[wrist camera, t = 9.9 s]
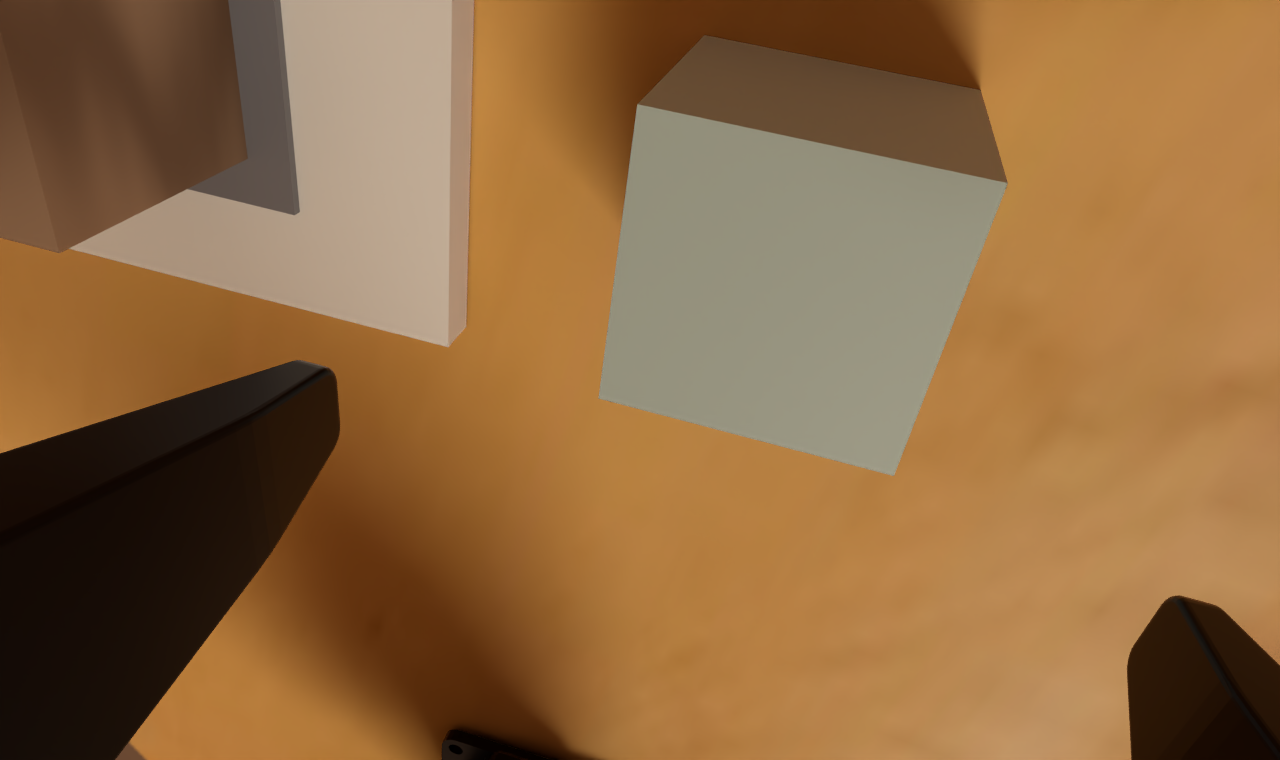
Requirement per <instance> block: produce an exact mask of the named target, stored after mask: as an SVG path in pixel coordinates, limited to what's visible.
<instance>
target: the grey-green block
mask: <svg viewBox="0 0 1280 760" xmlns="http://www.w3.org/2000/svg"><path fill="white" fill-rule="evenodd" d="M1007 184H1008V182H1007V179H1006V176H1005V172H1004V169H1003V165H1002V162H1001V158H1000V155H999V151H998V148H997V145H996V141H995V138H994V134H993V131H992V127H991V124H990V121H989V117H988V114H987V110H986V107H985V103H984V100H983V97H982V93H981V90H978V89H973V88H968V87H963V86H958V85H953V84H948V83H943V82H938V81H933V80H928V79H923V78H918V77H913V76H908V75H903V74H898V73H893V72H888V71H883V70H878V69H873V68H868V67H863V66H858V65H853V64H848V63H843V62H838V61H833V60H828V59H823V58H818V57H813V56H808V55H803V54H797V53H792V52H787V51H782V50H777V49H772V48H767V47H762V46H757V45H752V44H747V43H742V42H737V41H732V40H727V39H722V38H717V37H712V36H707V35H704V36H703V37H702V38H701V39H700V40H699V41H698V42H697V43H696V44H695V45H694V46H693V47H692V48H691V50H690V51H689V52H688V53H687V54H686V55H685V56H684V57H683V58H682V59H681V60H680V61H679V62H678V63H677V64H676V65H675V66H674V67H673V68H672V69H671V70H670V71H669V72H668V73H667V74H666V75H665V76H664V77H663V78H662V79H661V80H660V81H659V82H658V83H657V84H656V85H655V86H654V87H653V89H652V90H651V91H650V92H649V93H648V94H647V95H646V96H645V97H644V98H643V99H642V100H641V101H640V102H639V103H638V104H637V110H636V118H635V125H634V133H633V140H632V148H631V156H630V163H629V171H628V179H627V186H626V194H625V201H624V209H623V217H622V224H621V232H620V240H619V247H618V255H617V262H616V270H615V278H614V285H613V293H612V300H611V308H610V316H609V323H608V331H607V339H606V346H605V354H604V361H603V369H602V377H601V384H600V392H599V399H603V400H607V401H610V402H614V403H618V404H622V405H626V406H629V407H633V408H637V409H641V410H645V411H649V412H652V413H656V414H660V415H664V416H668V417H671V418H675V419H679V420H683V421H687V422H690V423H694V424H698V425H702V426H706V427H709V428H713V429H717V430H721V431H725V432H729V433H732V434H736V435H740V436H744V437H748V438H751V439H755V440H759V441H763V442H767V443H770V444H774V445H778V446H782V447H786V448H789V449H793V450H797V451H801V452H805V453H809V454H812V455H816V456H820V457H824V458H828V459H831V460H835V461H839V462H843V463H847V464H850V465H854V466H858V467H862V468H866V469H869V470H873V471H877V472H881V473H885V474H889V475H892V476H894V474H895V471H896V469H897V466H898V464H899V461H900V459H901V456H902V453H903V451H904V448H905V446H906V443H907V441H908V438H909V435H910V433H911V430H912V428H913V425H914V423H915V420H916V417H917V415H918V412H919V410H920V407H921V405H922V402H923V399H924V397H925V394H926V392H927V389H928V387H929V384H930V382H931V379H932V376H933V374H934V371H935V369H936V366H937V364H938V361H939V358H940V356H941V353H942V351H943V348H944V346H945V343H946V340H947V338H948V335H949V333H950V330H951V328H952V325H953V322H954V320H955V317H956V315H957V312H958V310H959V307H960V304H961V302H962V299H963V297H964V294H965V292H966V289H967V286H968V284H969V281H970V279H971V276H972V274H973V271H974V268H975V266H976V263H977V261H978V258H979V256H980V253H981V250H982V248H983V245H984V243H985V240H986V238H987V235H988V233H989V230H990V227H991V225H992V222H993V220H994V217H995V215H996V212H997V209H998V207H999V204H1000V202H1001V199H1002V197H1003V194H1004V191H1005V189H1006V186H1007Z"/></svg>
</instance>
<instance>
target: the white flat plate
mask: <svg viewBox="0 0 1280 760" xmlns="http://www.w3.org/2000/svg"><path fill="white" fill-rule="evenodd" d="M228 2H229V10H230V19H231V27H232V35H233V43H234V51H235V59H236V67H237V75H238V83H239V91H240V100H241V108H242V116H243V124H244V132H245V140H246V148H247V156H248V159H246V160H244V161H242V162H240V163H238V164H236V165H234V166H232V167H230V168H228V169H226V170H224V171H222V172H220V173H218V174H216V175H214V176H212V177H210V178H208V179H206V180H204V181H202V182H200V183H198V184H196V185H194V186H192V187H190V188H188V189H186V190H184V191H182V192H180V193H178V194H176V195H174V196H173V197H171V198H169V199H167V200H165V201H163V202H161V203H159V204H157V205H155V206H153V207H151V208H149V209H147V210H145V211H143V212H141V213H139V214H137V215H135V216H133V217H131V218H129V219H127V220H125V221H123V222H121V223H119V224H117V225H115V226H113V227H111V228H109V229H107V230H105V231H103V232H101V233H99V234H97V235H95V236H93V237H91V238H89V239H87V240H85V241H83V242H81V243H79V244H77V245H75V246H73V247H71V248H69V249H72V250H76V251H80V252H84V253H88V254H91V255H95V256H99V257H103V258H107V259H111V260H115V261H118V262H122V263H126V264H130V265H134V266H138V267H142V268H145V269H149V270H153V271H157V272H161V273H165V274H168V275H172V276H176V277H180V278H184V279H188V280H192V281H195V282H199V283H203V284H207V285H211V286H215V287H218V288H222V289H226V290H230V291H234V292H238V293H242V294H245V295H249V296H253V297H257V298H261V299H265V300H269V301H272V302H276V303H280V304H284V305H288V306H292V307H295V308H299V309H303V310H307V311H311V312H315V313H319V314H322V315H326V316H330V317H334V318H338V319H342V320H345V321H349V322H353V323H357V324H361V325H365V326H369V327H372V328H376V329H380V330H384V331H388V332H392V333H396V334H399V335H403V336H407V337H411V338H415V339H419V340H422V341H426V342H430V343H434V344H438V345H442V346H446V347H449V346H450V345H451V343H452V342H453V341H454V340H455V339H456V338H457V337H458V335H459V334H460V333H461V332H462V331H463V330H464V329H465V328H466V314H467V273H468V232H469V191H470V150H471V109H472V67H473V26H474V0H228Z"/></svg>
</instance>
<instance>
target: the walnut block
mask: <svg viewBox="0 0 1280 760" xmlns="http://www.w3.org/2000/svg"><path fill="white" fill-rule="evenodd" d="M246 159H248V156H247V148H246V140H245V132H244V124H243V116H242V108H241V100H240V91H239V83H238V75H237V67H236V59H235V51H234V43H233V35H232V27H231V19H230V10H229V2H228V0H0V238H3V239H7V240H11V241H15V242H19V243H23V244H26V245H30V246H34V247H38V248H42V249H46V250H49V251H53V252H57V253H61V252H63V251H65V250H67V249H69V248H71V247H73V246H75V245H77V244H79V243H81V242H83V241H85V240H87V239H89V238H91V237H93V236H95V235H97V234H99V233H101V232H103V231H105V230H107V229H109V228H111V227H113V226H115V225H117V224H119V223H121V222H123V221H125V220H127V219H129V218H131V217H133V216H135V215H137V214H139V213H141V212H143V211H145V210H147V209H149V208H151V207H153V206H155V205H157V204H159V203H161V202H163V201H165V200H167V199H169V198H171V197H173V196H174V195H176V194H178V193H180V192H182V191H184V190H186V189H188V188H190V187H192V186H194V185H196V184H198V183H200V182H202V181H204V180H206V179H208V178H210V177H212V176H214V175H216V174H218V173H220V172H222V171H224V170H226V169H228V168H230V167H232V166H234V165H236V164H238V163H240V162H242V161H244V160H246Z"/></svg>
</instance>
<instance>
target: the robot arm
mask: <svg viewBox="0 0 1280 760" xmlns="http://www.w3.org/2000/svg"><path fill="white" fill-rule="evenodd" d="M339 432H340V418H339V404H338V391H337V380H336V376H335V374H334V372H333V371H332V370H331V369H330V368H328V367H325V366H321V365H318V364H314V363H310V362H306V361H301V360H296V361H292V362H289V363H285V364H282V365H279V366H276V367H273V368H270V369H266V370H263V371H260V372H257V373H254V374H251V375H247V376H244V377H241V378H238V379H235V380H232V381H228V382H225V383H222V384H219V385H216V386H213V387H209V388H206V389H203V390H200V391H197V392H194V393H190V394H187V395H184V396H181V397H178V398H175V399H171V400H168V401H165V402H162V403H159V404H156V405H152V406H149V407H146V408H143V409H140V410H136V411H133V412H130V413H127V414H124V415H121V416H117V417H114V418H111V419H108V420H105V421H102V422H98V423H95V424H92V425H89V426H86V427H83V428H79V429H76V430H73V431H70V432H67V433H64V434H60V435H57V436H54V437H51V438H48V439H45V440H41V441H38V442H35V443H32V444H29V445H26V446H22V447H19V448H16V449H13V450H10V451H7V452H3V453H0V760H115V759H116V758H117V757H118V755H119V754H120V753H121V751H122V750H123V749H124V747H125V746H126V745H127V744H128V742H129V741H130V740H131V738H132V737H133V736H134V734H135V733H136V732H137V730H138V729H139V728H140V726H141V725H142V724H143V722H144V721H145V720H146V718H147V717H148V716H149V714H150V713H151V712H152V711H153V709H154V708H155V707H156V705H157V704H158V703H159V701H160V700H161V699H162V697H163V696H164V695H165V693H166V692H167V691H168V689H169V688H170V687H171V685H172V684H173V683H174V681H175V680H176V679H177V677H178V676H179V675H180V674H181V672H182V671H183V670H184V668H185V667H186V666H187V664H188V663H189V662H190V660H191V659H192V658H193V656H194V655H195V654H196V652H197V651H198V650H199V648H200V647H201V646H202V644H203V643H204V642H205V641H206V639H207V638H208V637H209V635H210V634H211V633H212V631H213V630H214V629H215V627H216V626H217V625H218V623H219V622H220V621H221V619H222V618H223V617H224V615H225V614H226V613H227V611H228V610H229V609H230V607H231V606H232V605H233V604H234V602H235V601H236V600H237V598H238V597H239V596H240V594H241V593H242V592H243V590H244V589H245V588H246V586H247V585H248V584H249V582H250V581H251V580H252V578H253V577H254V576H255V574H256V573H257V572H258V570H259V569H260V568H261V566H262V565H263V564H264V562H265V561H266V559H267V558H268V557H269V555H270V554H271V552H272V551H273V549H274V548H275V546H276V545H277V543H278V541H279V540H280V538H281V537H282V535H283V533H284V532H285V530H286V528H287V527H288V525H289V523H290V522H291V520H292V518H293V517H294V515H295V513H296V512H297V510H298V508H299V507H300V505H301V503H302V501H303V500H304V498H305V496H306V495H307V493H308V491H309V490H310V488H311V486H312V485H313V483H314V481H315V480H316V478H317V476H318V475H319V473H320V471H321V470H322V468H323V466H324V464H325V463H326V461H327V459H328V458H329V456H330V454H331V453H332V451H333V449H334V447H335V445H336V443H337V440H338V437H339ZM1127 680H1128V700H1129V720H1130V740H1131V760H1280V665H1279V664H1278V663H1277V662H1276V661H1275V660H1274V659H1273V658H1272V657H1271V656H1269V655H1268V654H1267V653H1266V652H1265V651H1264V650H1263V649H1262V648H1261V647H1260V646H1259V645H1258V644H1257V643H1256V642H1255V641H1254V640H1253V639H1252V638H1251V637H1250V636H1249V635H1248V634H1247V633H1246V632H1245V631H1244V630H1243V629H1242V628H1241V627H1240V626H1239V625H1238V624H1237V623H1236V622H1235V621H1234V620H1233V619H1232V618H1231V617H1230V616H1229V615H1228V614H1227V613H1225V612H1224V611H1223V610H1222V609H1221V608H1219V607H1218V606H1216V605H1213V604H1210V603H1206V602H1202V601H1199V600H1195V599H1191V598H1187V597H1184V596H1172V597H1170V598H1168V599H1167V600H1165V601H1164V603H1163V604H1162V605H1161V606H1160V608H1159V609H1158V611H1157V612H1156V614H1155V615H1154V616H1153V618H1152V619H1151V621H1150V622H1149V624H1148V625H1147V627H1146V628H1145V630H1144V631H1143V633H1142V634H1141V635H1140V637H1139V638H1138V640H1137V641H1136V643H1135V644H1134V646H1133V648H1132V650H1131V652H1130V655H1129V659H1128V665H1127ZM442 760H551V759H547V758H544V757H541V756H538V755H535V754H532V753H529V752H526V751H523V750H520V749H516V748H513V747H510V746H507V745H504V744H501V743H498V742H495V741H492V740H489V739H486V738H482V737H479V736H476V735H473V734H470V733H467V732H464V731H461V730H450V731H449V732H448V733H447V735H446V737H445V739H444V741H443V743H442Z"/></svg>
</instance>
